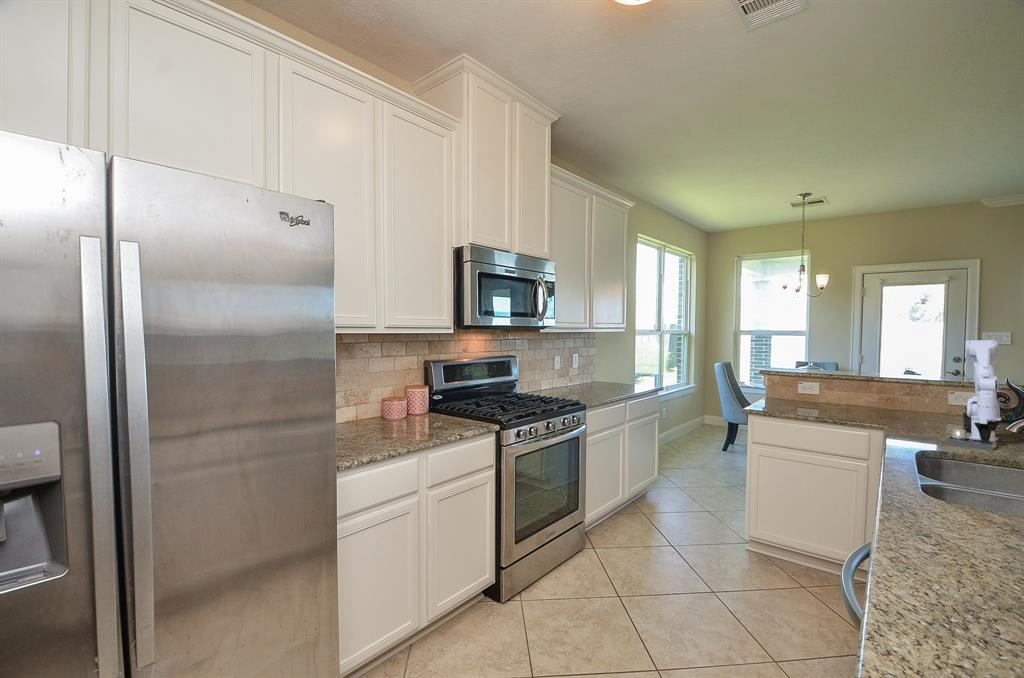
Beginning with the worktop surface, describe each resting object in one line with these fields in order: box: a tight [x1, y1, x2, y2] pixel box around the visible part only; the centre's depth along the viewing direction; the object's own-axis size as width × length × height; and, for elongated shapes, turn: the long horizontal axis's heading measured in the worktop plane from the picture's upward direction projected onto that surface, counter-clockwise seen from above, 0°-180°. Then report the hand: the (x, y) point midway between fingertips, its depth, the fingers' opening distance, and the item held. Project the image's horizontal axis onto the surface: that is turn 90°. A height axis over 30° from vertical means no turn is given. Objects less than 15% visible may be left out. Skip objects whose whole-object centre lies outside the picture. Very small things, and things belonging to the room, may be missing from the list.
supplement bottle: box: [962, 406, 971, 434], centre depth 212 cm, size 7×7×12 cm
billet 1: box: [951, 428, 967, 441], centre depth 185 cm, size 4×4×6 cm
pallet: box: [945, 435, 997, 451], centre depth 183 cm, size 9×13×2 cm
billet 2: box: [980, 431, 995, 442], centre depth 186 cm, size 4×4×6 cm
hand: (987, 439), depth 185 cm, fingers open, 7 cm apart
